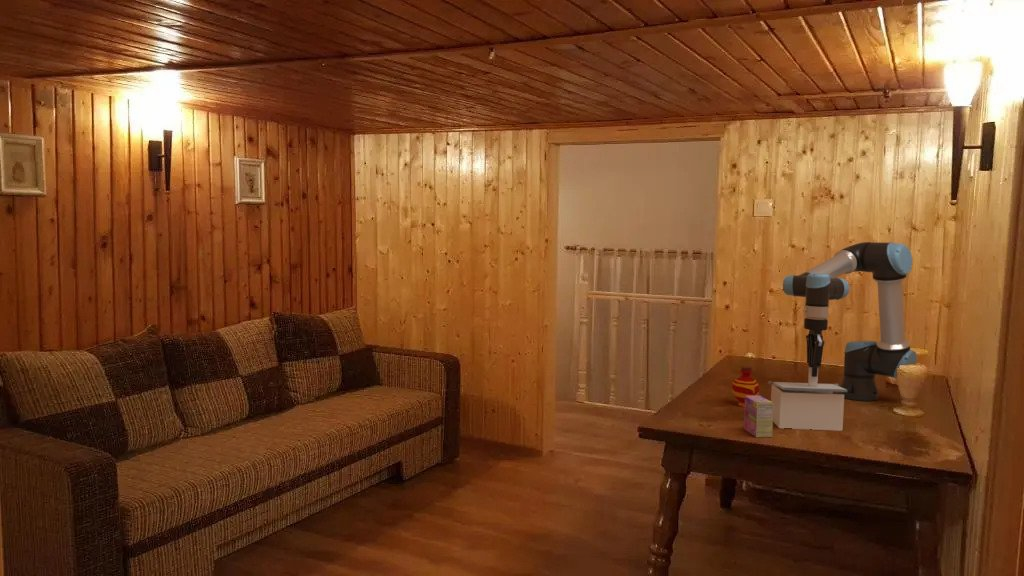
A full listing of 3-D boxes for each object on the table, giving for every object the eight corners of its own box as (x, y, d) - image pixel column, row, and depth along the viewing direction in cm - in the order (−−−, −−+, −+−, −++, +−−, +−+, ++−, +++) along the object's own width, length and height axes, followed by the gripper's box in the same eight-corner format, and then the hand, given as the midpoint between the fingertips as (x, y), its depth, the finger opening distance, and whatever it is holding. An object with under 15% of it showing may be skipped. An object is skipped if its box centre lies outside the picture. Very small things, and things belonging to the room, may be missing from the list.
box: (743, 429, 261) (744, 395, 260) (759, 429, 261) (761, 395, 260) (755, 437, 251) (757, 402, 250) (772, 437, 251) (774, 402, 250)
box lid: (833, 386, 273) (833, 383, 273) (847, 392, 258) (847, 389, 258) (773, 384, 275) (773, 381, 275) (783, 390, 260) (783, 387, 260)
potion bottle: (759, 403, 299) (760, 365, 297) (758, 409, 289) (760, 370, 287) (731, 401, 302) (732, 363, 301) (729, 406, 292) (731, 368, 291)
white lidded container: (835, 420, 274) (837, 383, 273) (848, 431, 261) (850, 391, 259) (766, 417, 276) (768, 380, 275) (776, 428, 263) (777, 389, 262)
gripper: (799, 315, 271) (796, 381, 273) (810, 320, 257) (807, 389, 259) (821, 316, 270) (817, 381, 272) (833, 320, 257) (829, 389, 259)
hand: (812, 385), depth 266 cm, fingers closed
